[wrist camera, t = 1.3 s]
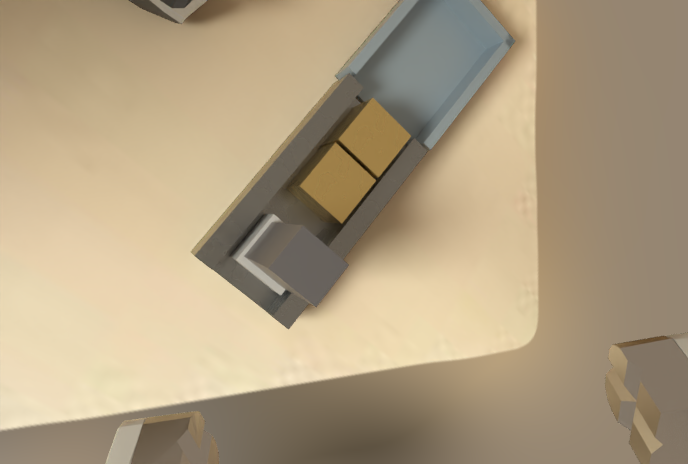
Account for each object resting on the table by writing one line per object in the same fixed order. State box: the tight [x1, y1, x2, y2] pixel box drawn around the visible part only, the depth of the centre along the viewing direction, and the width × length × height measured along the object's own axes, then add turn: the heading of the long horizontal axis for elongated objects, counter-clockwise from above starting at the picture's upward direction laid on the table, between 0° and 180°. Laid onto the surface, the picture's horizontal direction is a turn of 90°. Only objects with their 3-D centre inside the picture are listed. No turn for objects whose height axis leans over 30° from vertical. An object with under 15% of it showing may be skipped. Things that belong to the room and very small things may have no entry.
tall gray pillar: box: [230, 214, 348, 307], centre depth 35 cm, size 4×4×11 cm
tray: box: [335, 0, 515, 151], centre depth 44 cm, size 9×12×3 cm
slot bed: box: [191, 73, 427, 329], centre depth 41 cm, size 8×17×4 cm, turn 139°
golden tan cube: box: [286, 142, 376, 224], centre depth 40 cm, size 4×4×4 cm
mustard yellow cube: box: [321, 98, 411, 178], centre depth 41 cm, size 4×4×4 cm
